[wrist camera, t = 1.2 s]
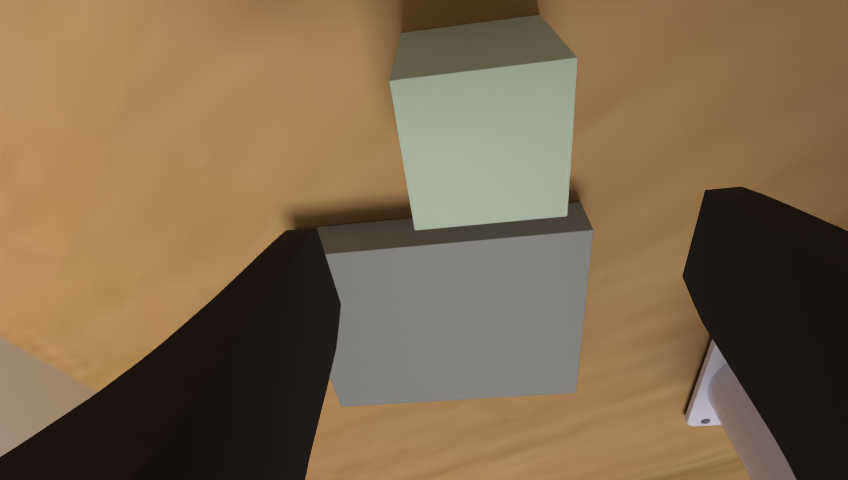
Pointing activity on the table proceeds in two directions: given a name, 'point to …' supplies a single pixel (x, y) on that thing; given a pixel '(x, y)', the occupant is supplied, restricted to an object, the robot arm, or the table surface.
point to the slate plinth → (458, 308)
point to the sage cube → (485, 121)
